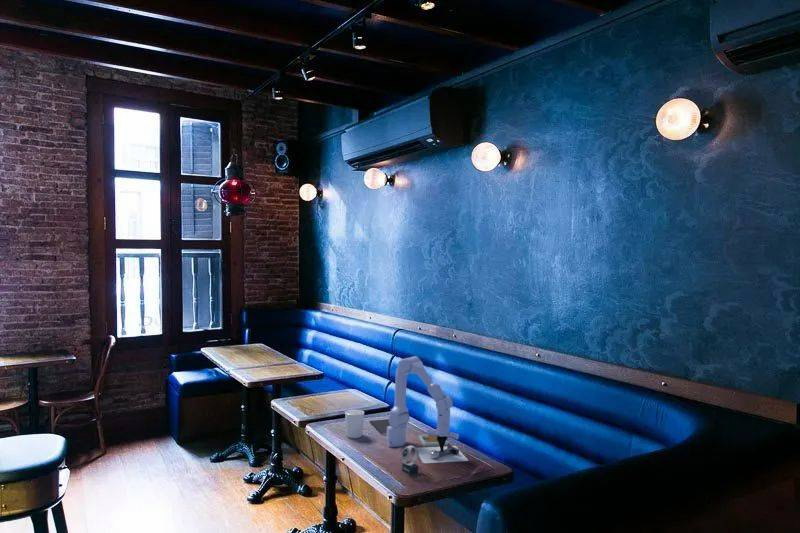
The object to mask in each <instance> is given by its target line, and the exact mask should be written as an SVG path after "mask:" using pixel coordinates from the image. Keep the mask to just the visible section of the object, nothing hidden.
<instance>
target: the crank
mask: <svg viewBox="0 0 800 533" xmlns="http://www.w3.org/2000/svg"><path fill="white" fill-rule="evenodd" d="M446 446H447V449H445V450H441V451H436V450H433V451H431V452H430V458H432V459H438V458H439V457H441V456H444V455H448V454H452V453H454V454H456V455H457V454H459V450H460V449H459V448H458V447H457V448H458V449H457V448H454V447H452V446H453V445H446Z"/></svg>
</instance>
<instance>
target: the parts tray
mask: <svg viewBox="0 0 800 533" xmlns="http://www.w3.org/2000/svg"><path fill="white" fill-rule="evenodd" d="M418 439H419V441H420V442H421V444H422V445H423V447H440V445H439V443H438V442H426V440H424V439H427V440H428V435H427V434H420V435H418ZM444 446H449V442H448V440H446V442H445V445H444Z"/></svg>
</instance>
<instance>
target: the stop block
mask: <svg viewBox="0 0 800 533" xmlns="http://www.w3.org/2000/svg"><path fill="white" fill-rule="evenodd" d="M430 430H436V429H433V428H431V429H430ZM429 442H438V441H437V436H436V435H428V438H427V443H429Z"/></svg>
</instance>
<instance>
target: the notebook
mask: <svg viewBox="0 0 800 533" xmlns="http://www.w3.org/2000/svg"><path fill="white" fill-rule="evenodd" d="M369 424H371V426H372V427H373V428H374V429H375V430H376V431H377V432H379V434H380V435H381V436H385V435H386V436H387V426H391V425H390V423H389V418H386V419H375V420H369Z"/></svg>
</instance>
